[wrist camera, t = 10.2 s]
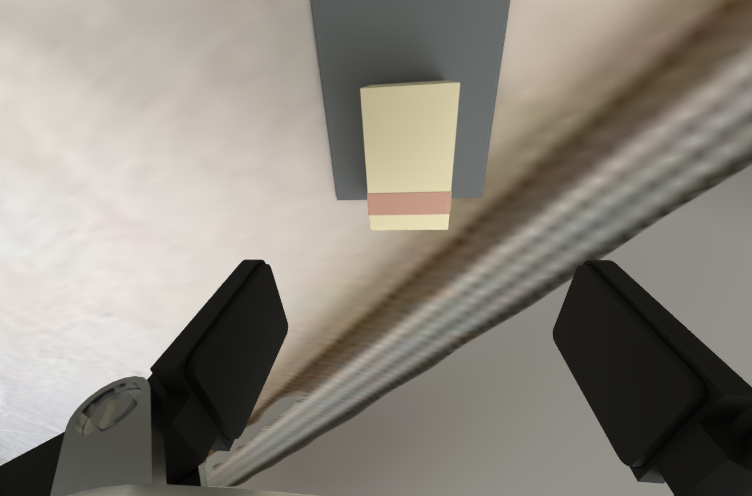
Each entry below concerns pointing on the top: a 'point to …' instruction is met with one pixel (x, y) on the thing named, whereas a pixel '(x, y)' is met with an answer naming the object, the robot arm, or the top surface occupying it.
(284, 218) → the top surface
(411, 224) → the stub
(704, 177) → the top surface
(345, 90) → the mat
